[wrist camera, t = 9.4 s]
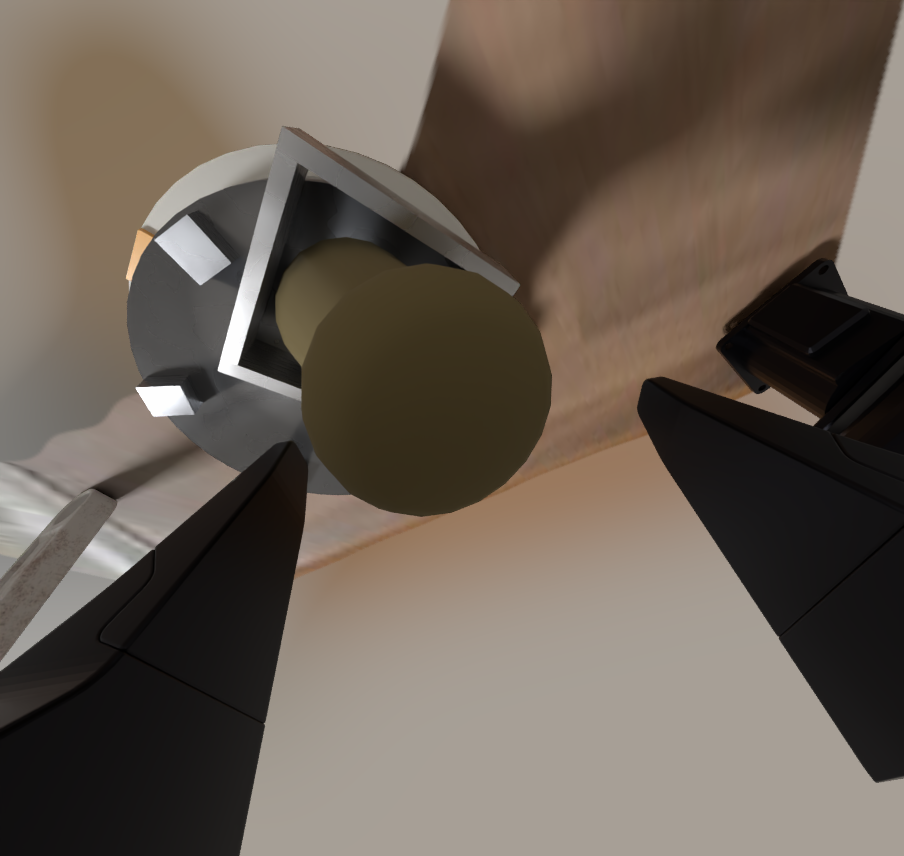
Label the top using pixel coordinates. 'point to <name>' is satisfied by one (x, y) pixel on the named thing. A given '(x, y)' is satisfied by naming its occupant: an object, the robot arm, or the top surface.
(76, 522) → the wrench
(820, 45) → the top surface
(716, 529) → the robot arm
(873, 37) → the top surface
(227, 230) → the grey tabbed disc
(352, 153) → the base plate
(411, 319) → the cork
